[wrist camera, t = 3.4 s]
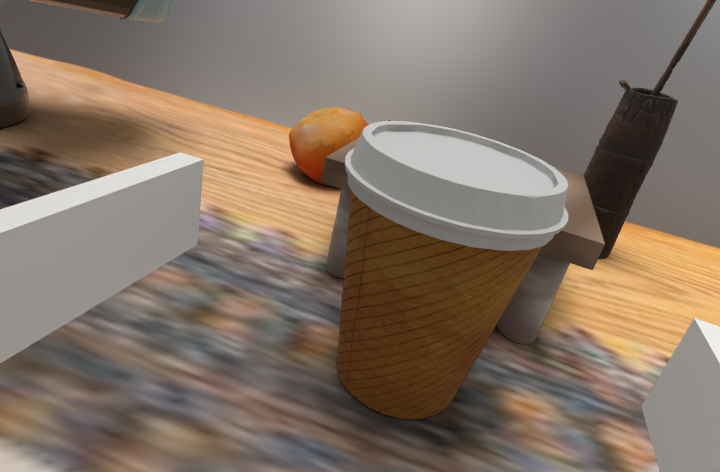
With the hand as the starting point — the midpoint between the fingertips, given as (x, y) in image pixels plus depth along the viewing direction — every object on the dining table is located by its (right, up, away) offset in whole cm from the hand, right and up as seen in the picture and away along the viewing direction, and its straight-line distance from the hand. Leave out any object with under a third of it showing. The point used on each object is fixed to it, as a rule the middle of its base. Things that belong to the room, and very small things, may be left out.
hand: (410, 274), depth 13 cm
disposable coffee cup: (0, -6, +13) cm, 14 cm away
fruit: (-5, +7, +37) cm, 38 cm away
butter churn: (+19, 0, +34) cm, 39 cm away
